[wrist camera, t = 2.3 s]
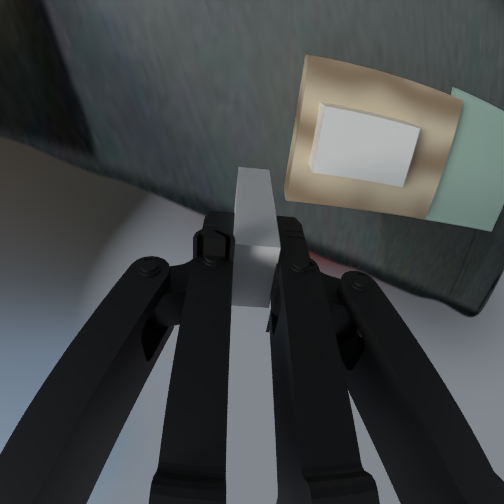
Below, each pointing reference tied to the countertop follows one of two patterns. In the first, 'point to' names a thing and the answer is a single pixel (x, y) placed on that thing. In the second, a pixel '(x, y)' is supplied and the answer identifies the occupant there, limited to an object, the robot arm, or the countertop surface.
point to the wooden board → (380, 102)
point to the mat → (472, 168)
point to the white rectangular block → (362, 145)
